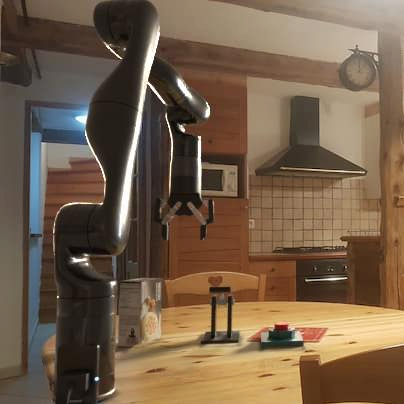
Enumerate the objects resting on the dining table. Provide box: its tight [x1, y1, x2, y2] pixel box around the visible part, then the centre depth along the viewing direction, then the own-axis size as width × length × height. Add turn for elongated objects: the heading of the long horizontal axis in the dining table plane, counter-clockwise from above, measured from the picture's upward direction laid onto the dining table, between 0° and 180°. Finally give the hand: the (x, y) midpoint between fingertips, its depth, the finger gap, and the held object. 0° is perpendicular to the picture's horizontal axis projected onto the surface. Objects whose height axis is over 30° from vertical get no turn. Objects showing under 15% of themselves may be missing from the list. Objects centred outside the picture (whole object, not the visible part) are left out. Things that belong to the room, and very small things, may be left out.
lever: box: [208, 286, 232, 309], centre depth 130 cm, size 12×5×2 cm, turn 12°
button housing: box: [260, 326, 305, 349], centre depth 130 cm, size 12×10×4 cm
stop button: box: [273, 321, 290, 331], centre depth 130 cm, size 4×4×2 cm
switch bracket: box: [200, 293, 241, 344], centre depth 134 cm, size 12×9×12 cm
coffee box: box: [117, 277, 163, 348], centre depth 131 cm, size 9×6×16 cm
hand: (184, 240), depth 130 cm, fingers open, 8 cm apart
